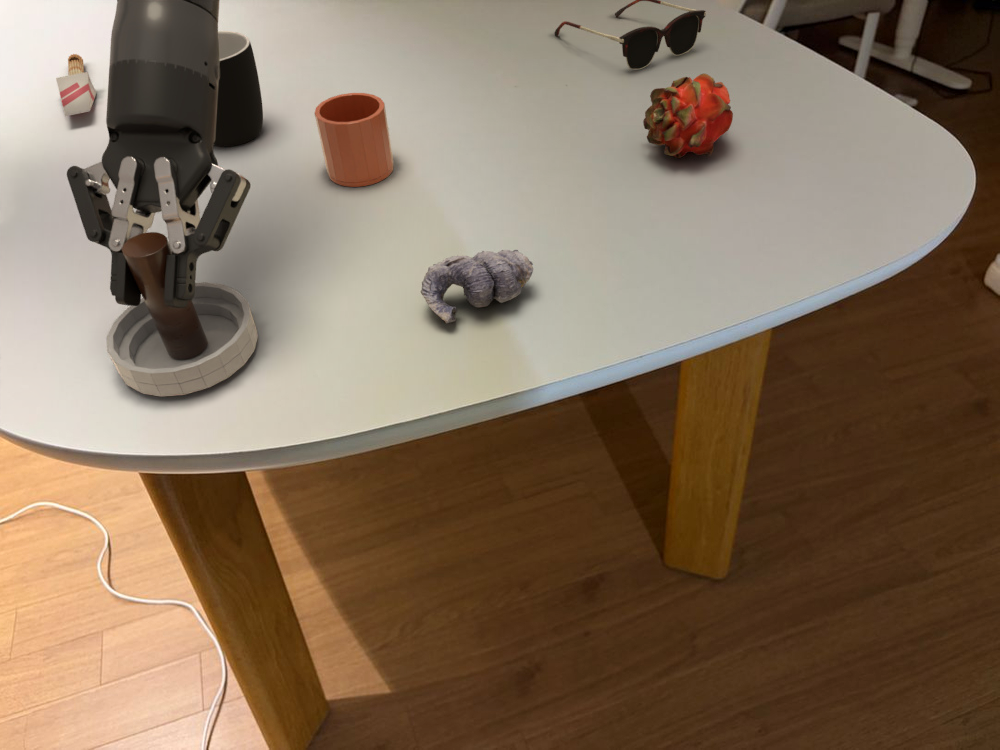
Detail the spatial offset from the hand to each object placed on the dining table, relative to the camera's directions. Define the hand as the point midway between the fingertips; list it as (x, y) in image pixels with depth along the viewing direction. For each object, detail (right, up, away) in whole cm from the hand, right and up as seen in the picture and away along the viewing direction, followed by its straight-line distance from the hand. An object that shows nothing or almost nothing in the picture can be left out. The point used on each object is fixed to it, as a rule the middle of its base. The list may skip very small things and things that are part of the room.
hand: (152, 304), depth 60 cm
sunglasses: (+42, +39, +48) cm, 75 cm away
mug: (-7, +22, +34) cm, 41 cm away
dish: (+1, -3, +6) cm, 7 cm away
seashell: (+24, +1, +9) cm, 26 cm away
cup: (+11, +17, +26) cm, 33 cm away
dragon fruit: (+46, +19, +27) cm, 56 cm away
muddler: (0, -3, +6) cm, 6 cm away
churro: (-28, +31, +44) cm, 60 cm away
